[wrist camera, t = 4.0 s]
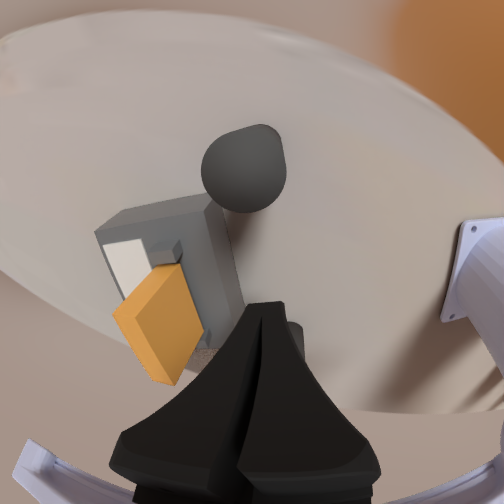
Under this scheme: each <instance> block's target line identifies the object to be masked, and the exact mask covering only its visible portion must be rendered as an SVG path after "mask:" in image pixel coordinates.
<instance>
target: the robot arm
mask: <svg viewBox="0 0 504 504" xmlns="http://www.w3.org/2000/svg"><path fill="white" fill-rule="evenodd" d="M472 227H473V229H472ZM471 229H472V230H471ZM464 317H468V318H469V320H470V321H471V323H472V324H473V326H474V327H475V329H476V331H477V332H478V334H479V335H480V337H481V339H482V340H483V342H484V344H485V345H486V347H487V349H488V350H489V352H490V354H491V356H492V357H493V359H494V361H495V363H496V365H497V367H498V368H499V370H500V372H501V374H502V376H503V378H504V217H498V218H487V219H476V220H466V221H464V222H463V223H462V225H461V227H460V233H459V239H458V245H457V251H456V256H455V261H454V266H453V271H452V275H451V279H450V283H449V287H448V291H447V295H446V299H445V302H444V306H443V309H442V312H441V315H440V319H441V321H442V322H443V323H446V322H450V321H453V320H457V319H461V318H464ZM500 445H501V453H500V454H498V455H497V456H496V457H495V458H494V459H493V460H491V461H489V462H488V463H486V464H484V465H482V466H480V467H479V468H477V469H475V470H473V471H471V472H469V473H467V474H465V475H463V476H460V477H458V478H456V479H454V480H451V481H449V482H447V483H444V484H442V485H440V486H437V487H435V488H432V489H429V490H426V491H424V492H421V493H418V494H415V495H412V496H409V497H406V498H402V499H399V500H395V501H392V502H388V503H384V504H504V422H503V425H502V430H501V441H500ZM109 467H110V468H111V469H112V470H113V471H114V472H116V473H117V474H119V475H121V476H123V477H124V478H126V479H128V480H130V481H131V482H133V483H136V484H137V486H136V489H135V492H133V491H130V490H127V489H124V488H122V487H119V486H116V485H114V484H111V483H109V482H106V481H104V480H102V479H99V478H97V477H95V476H93V475H91V474H88V473H86V472H84V471H82V470H80V469H78V468H76V467H74V466H72V465H70V464H69V463H67V462H65V461H63V460H61V459H59V458H58V457H56V455H54V454H53V453H51V452H50V451H49V450H47V449H46V448H44V447H43V446H41V445H40V444H38V443H36V442H35V441H33V440H32V439H30V438H29V439H28V441H27V443H26V445H25V447H24V449H23V451H22V453H21V455H20V458H19V460H18V462H17V464H16V466H15V469H14V471H13V473H12V477H13V478H14V479H15V480H16V481H17V482H18V483H20V484H21V485H22V486H23V487H24V488H25V489H26V490H27V491H28V492H30V494H31V495H32V496H33V497H35V498H36V499H37V500H38V501H39V502H40V503H41V504H371V497H372V496H373V489H372V484H373V483H374V482H375V481H376V480H378V478H379V477H380V475H381V469H380V465H379V462H378V459H377V457H376V455H375V453H374V451H373V449H372V447H371V445H370V443H369V441H368V440H367V439H366V438H365V437H364V436H363V435H362V434H361V433H360V432H359V431H358V430H357V429H356V428H355V427H354V426H353V425H352V424H351V423H350V422H349V421H348V420H347V419H346V417H345V416H344V415H343V414H342V413H341V412H340V411H339V410H338V408H337V407H336V406H335V404H334V403H333V402H332V401H331V399H330V398H329V397H328V396H327V394H326V393H325V392H324V390H323V389H322V388H321V386H320V385H319V383H318V382H317V380H316V379H315V377H314V376H313V374H312V372H311V371H310V369H309V367H308V366H307V364H306V362H305V360H304V359H303V357H302V355H301V353H300V351H299V349H298V347H297V345H296V343H295V340H294V338H293V336H292V333H291V331H290V328H289V325H288V322H287V319H286V314H285V306H284V303H283V302H282V301H276V302H265V303H252V304H248V305H247V306H246V308H245V310H244V312H243V314H242V316H241V317H240V319H239V321H238V322H237V324H236V326H235V327H234V329H233V330H232V332H231V333H230V335H229V336H228V338H227V339H226V341H225V342H224V344H223V345H222V347H221V348H220V349H219V351H218V352H217V353H216V355H215V356H214V357H213V358H212V360H211V361H210V362H209V363H208V365H207V366H206V367H205V368H204V369H203V370H202V371H201V373H200V374H199V375H198V376H197V377H196V378H195V379H194V380H193V381H192V382H191V383H190V384H189V385H188V386H187V387H186V388H184V390H182V391H181V392H180V393H179V394H178V395H177V396H176V397H174V398H173V399H172V400H171V401H169V402H168V403H167V404H165V405H164V406H163V407H162V408H160V409H159V410H158V411H156V412H155V413H153V414H152V415H150V416H149V417H148V418H146V419H144V420H143V421H141V422H139V423H137V424H136V425H134V426H132V427H130V428H128V429H127V430H125V431H123V432H121V434H120V436H119V439H118V441H117V443H116V446H115V449H114V451H113V454H112V457H111V459H110V462H109Z"/></svg>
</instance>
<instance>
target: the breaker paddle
mask: <svg viewBox="0 0 504 504" xmlns="http://www.w3.org/2000/svg"><path fill="white" fill-rule="evenodd" d="M112 315H113V317H114V319H115V321H116V322H117V324H118V326H119V328H120V329H121V331H122V333H123V335H124V336H125V338H126V340H127V341H128V343H129V345H130V346H131V348H132V350H133V351H134V353H135V354H136V356H137V358H138V359H139V361H140V362H141V364H142V365H143V367H144V368H145V370H146V371H147V373H148V374H149V376H150V377H151V379H152V380H153V381H156V382H160V383H164V384H168V385H172V386H175V385H176V383H177V381H178V379H179V377H180V375H181V373H182V371H183V370H184V368H185V366H186V364H187V362H188V360H189V358H190V357H191V355H192V353H193V351H194V349H195V347H196V345H197V343H198V342H199V340H200V338H201V336H202V334H203V332H204V330H203V327H202V324H201V322H200V319H199V317H198V314H197V311H196V308H195V306H194V303H193V300H192V297H191V295H190V292H189V289H188V286H187V283H186V280H185V277H184V275H183V272H182V269H181V266H180V264H158V265H157V266H156V267H155V268H154V269H153V270H152V271H151V272H150V273H149V274H148V275H147V276H146V277H145V279H144V280H143V281H142V282H141V283H140V284H139V285H138V286H137V287H136V288H135V289H134V290H133V291H132V293H131V294H130V295H129V296H128V297H127V298H126V299H125V300H124V301H123V302H122V304H121V305H120V306H119V307H118V308H117V309H116V310H115V311H114V313H113V314H112Z"/></svg>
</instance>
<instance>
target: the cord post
mask: <svg viewBox="0 0 504 504" xmlns="http://www.w3.org/2000/svg"><path fill="white" fill-rule="evenodd" d="M201 177H202V181H203V185H204V187H205V189H206V191H207V193H208V194H209V196H210V197H211V198H212V199H213V200H214V201H215V202H216V203H217V204H219V205H220V206H222V207H223V208H225V209H228V210H230V211H234V212H239V213H251V212H256V211H259V210H261V209H264V208H266V207H267V206H269V205H270V204H271V203H273V202H274V201H275V200H276V199H277V198H278V196H279V195H280V193H281V192H282V190H283V187H284V185H285V181H286V163H285V158H284V152H283V147H282V142H281V138H280V136H279V134H278V133H277V131H276V130H275V129H273V128H272V127H270V126H268V125H263V124H258V125H253V126H250V127H246V128H243V129H239V130H236V131H233V132H229V133H227V134H224V135H223V136H221V137H219V138H218V139H216V140H215V141H214V142H213V143H212V144H211V145H210V146H209V148H208V149H207V151H206V153H205V155H204V157H203V160H202V165H201Z"/></svg>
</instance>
